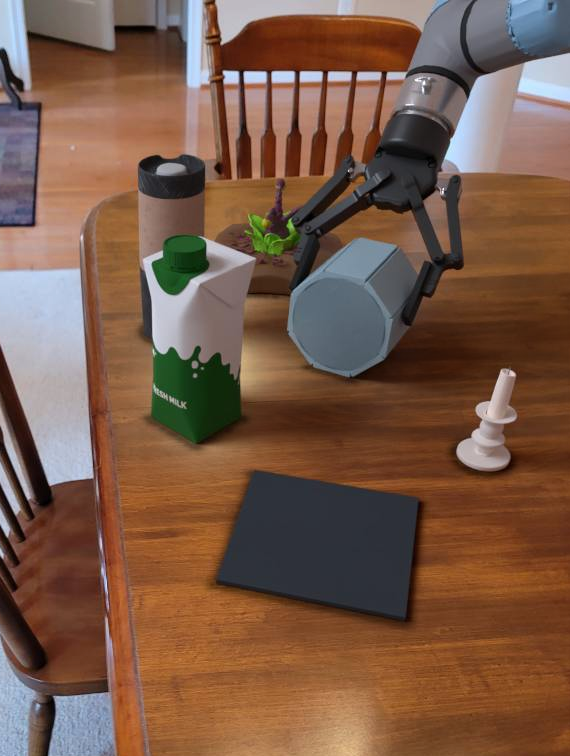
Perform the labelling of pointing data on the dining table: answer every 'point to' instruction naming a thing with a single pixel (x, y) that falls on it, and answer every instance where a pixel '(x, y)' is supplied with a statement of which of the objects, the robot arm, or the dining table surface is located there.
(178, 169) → the travel mug
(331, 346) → the pail
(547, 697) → the dining table surface
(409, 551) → the mat
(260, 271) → the plant
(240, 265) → the milk carton
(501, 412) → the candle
